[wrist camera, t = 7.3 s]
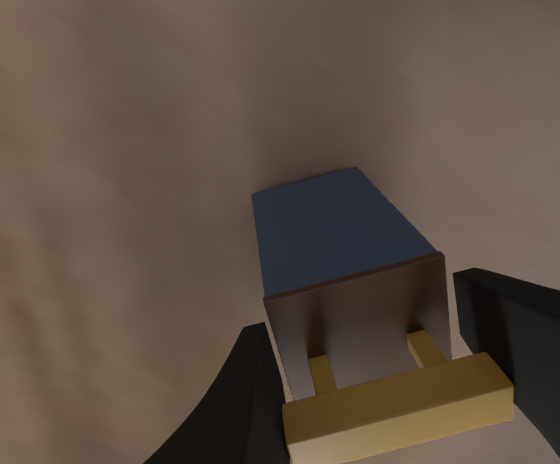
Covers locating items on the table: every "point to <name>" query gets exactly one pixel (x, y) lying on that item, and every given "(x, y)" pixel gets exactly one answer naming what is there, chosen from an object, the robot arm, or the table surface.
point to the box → (364, 325)
